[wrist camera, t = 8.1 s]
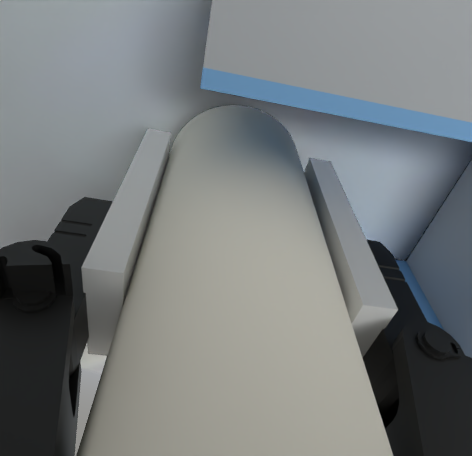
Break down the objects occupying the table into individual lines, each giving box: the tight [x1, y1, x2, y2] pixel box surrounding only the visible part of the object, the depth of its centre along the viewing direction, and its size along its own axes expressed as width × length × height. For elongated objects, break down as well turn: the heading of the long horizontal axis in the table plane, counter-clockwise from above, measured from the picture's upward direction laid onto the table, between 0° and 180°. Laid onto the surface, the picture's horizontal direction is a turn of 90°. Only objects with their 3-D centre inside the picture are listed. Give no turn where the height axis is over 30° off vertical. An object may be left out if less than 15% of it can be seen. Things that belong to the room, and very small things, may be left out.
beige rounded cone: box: [77, 105, 393, 456], centre depth 9 cm, size 5×5×11 cm
